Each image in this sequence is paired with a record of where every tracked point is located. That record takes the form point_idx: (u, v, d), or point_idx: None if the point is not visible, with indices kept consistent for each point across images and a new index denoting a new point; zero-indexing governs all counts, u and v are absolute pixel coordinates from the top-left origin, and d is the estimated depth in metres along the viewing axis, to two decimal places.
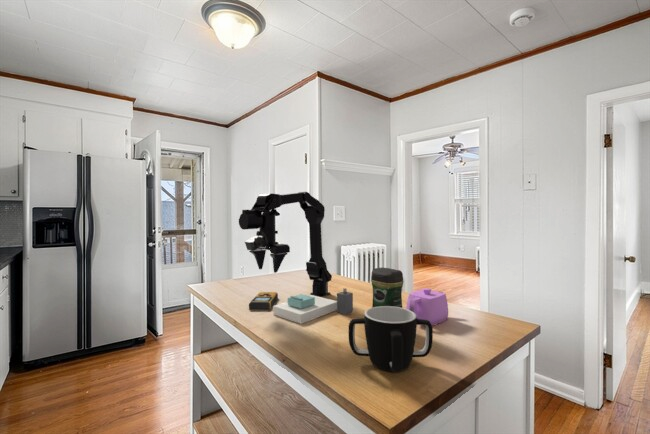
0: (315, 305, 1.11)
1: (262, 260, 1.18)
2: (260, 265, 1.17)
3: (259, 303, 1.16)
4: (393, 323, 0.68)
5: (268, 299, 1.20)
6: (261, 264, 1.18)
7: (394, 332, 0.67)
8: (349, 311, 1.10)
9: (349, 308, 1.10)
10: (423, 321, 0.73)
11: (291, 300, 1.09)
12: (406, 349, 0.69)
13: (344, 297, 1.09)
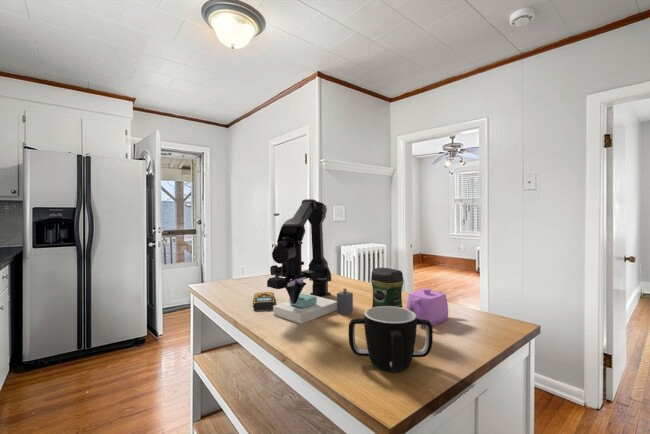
0: (315, 305, 1.11)
1: None
2: None
3: (264, 303, 1.16)
4: (393, 323, 0.68)
5: (270, 299, 1.20)
6: None
7: (394, 332, 0.67)
8: (349, 311, 1.10)
9: (349, 308, 1.10)
10: (423, 321, 0.73)
11: None
12: (406, 349, 0.69)
13: (344, 297, 1.09)
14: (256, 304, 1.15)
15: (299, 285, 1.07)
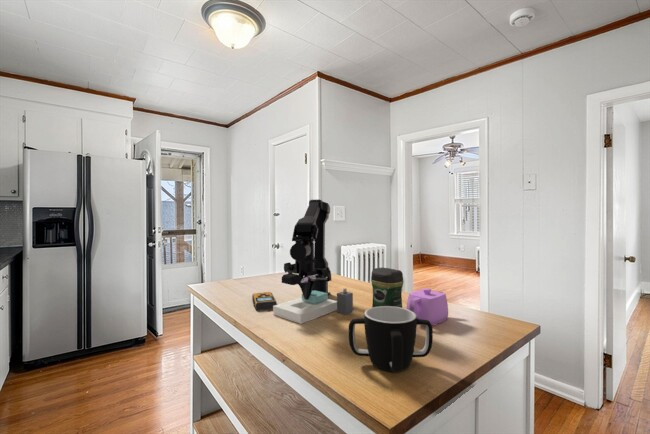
0: (315, 305, 1.11)
1: None
2: None
3: (266, 303, 1.16)
4: (393, 323, 0.68)
5: (271, 298, 1.21)
6: None
7: (394, 332, 0.67)
8: (349, 311, 1.10)
9: (349, 308, 1.10)
10: (423, 321, 0.73)
11: None
12: (406, 349, 0.69)
13: (344, 297, 1.09)
14: (258, 304, 1.15)
15: (312, 281, 1.12)
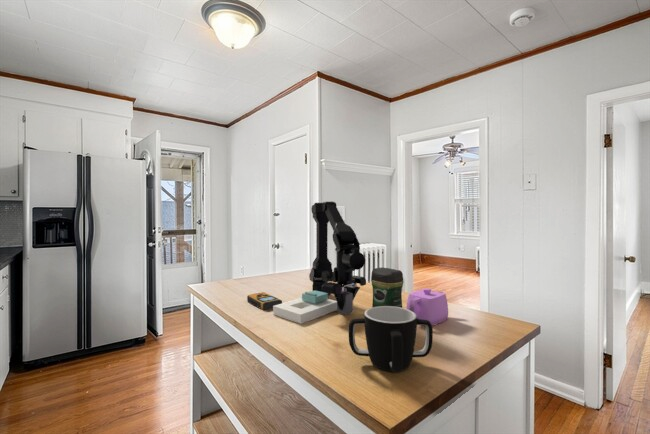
0: (315, 305, 1.11)
1: None
2: None
3: (273, 302, 1.17)
4: (393, 323, 0.68)
5: (273, 297, 1.22)
6: None
7: (394, 332, 0.67)
8: (349, 311, 1.10)
9: (349, 308, 1.10)
10: (423, 321, 0.73)
11: (305, 296, 1.14)
12: (406, 349, 0.69)
13: None
14: (266, 304, 1.15)
15: (354, 289, 1.12)
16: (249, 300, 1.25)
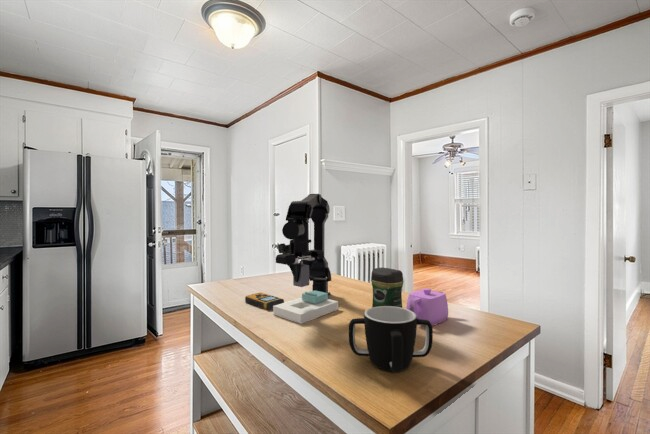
0: (315, 305, 1.11)
1: None
2: None
3: (276, 301, 1.18)
4: (393, 323, 0.68)
5: (274, 297, 1.23)
6: None
7: (394, 332, 0.67)
8: (305, 283, 1.09)
9: (304, 280, 1.09)
10: (423, 321, 0.73)
11: (305, 296, 1.14)
12: (406, 349, 0.69)
13: None
14: (270, 303, 1.16)
15: (310, 261, 1.11)
16: (248, 301, 1.24)
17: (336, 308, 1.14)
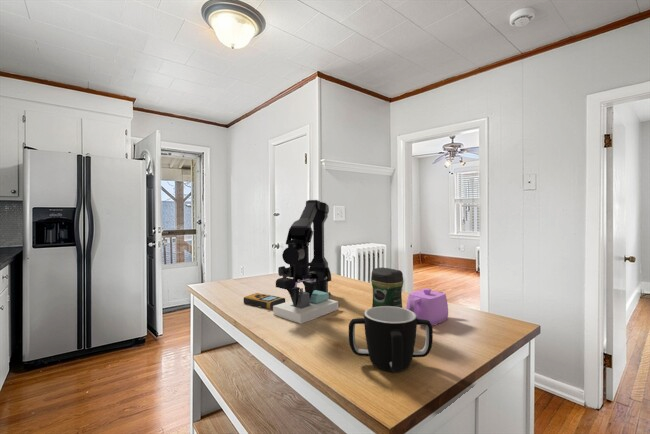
0: (315, 305, 1.11)
1: None
2: None
3: (279, 300, 1.19)
4: (393, 323, 0.68)
5: (274, 296, 1.23)
6: None
7: (394, 332, 0.67)
8: None
9: None
10: (423, 321, 0.73)
11: None
12: (406, 349, 0.69)
13: (300, 297, 1.08)
14: (273, 303, 1.17)
15: (312, 284, 1.12)
16: (247, 302, 1.22)
17: (336, 308, 1.14)
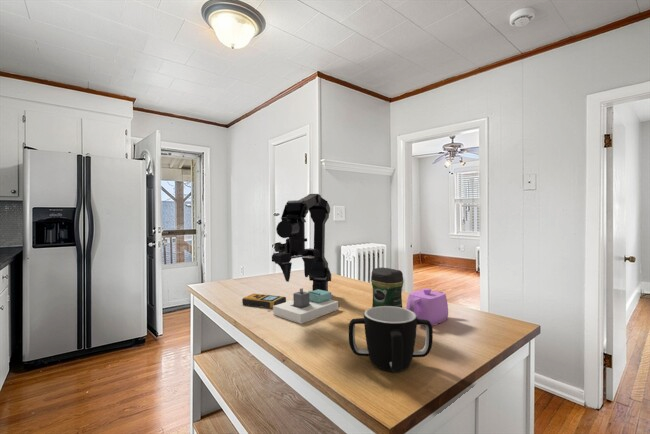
0: (315, 305, 1.11)
1: (308, 268, 1.15)
2: (305, 273, 1.15)
3: (281, 299, 1.20)
4: (393, 323, 0.68)
5: (274, 296, 1.24)
6: (306, 272, 1.15)
7: (394, 332, 0.67)
8: None
9: None
10: (423, 321, 0.73)
11: (309, 295, 1.16)
12: (406, 349, 0.69)
13: (300, 297, 1.08)
14: (277, 302, 1.18)
15: (311, 259, 1.14)
16: (247, 303, 1.21)
17: (336, 308, 1.14)
